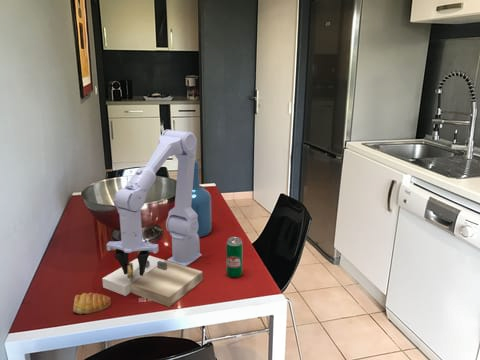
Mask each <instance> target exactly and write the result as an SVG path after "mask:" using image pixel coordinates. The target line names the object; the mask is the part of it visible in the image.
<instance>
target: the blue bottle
mask: <svg viewBox="0 0 480 360" xmlns="http://www.w3.org/2000/svg"><path fill="white" fill-rule="evenodd" d="M199 167H200V166H199V161H198V160H197V157H195V165H194V178H193V190H192V203H191V208H192V209H193V210H194V211H195V212H196V213H197V215H198V217H197V219H198V225H199V228H198V231H197V234H198V236H199V238H202V237H206V236H208V235H209V234H210V233H211V232H212V229H213V227H212V196H211V194H210V192H209V191H208V189H205V187H203V186H202V185H200V168H199Z"/></svg>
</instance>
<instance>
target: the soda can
mask: <svg viewBox="0 0 480 360" xmlns="http://www.w3.org/2000/svg"><path fill="white" fill-rule="evenodd" d="M243 244H244V243H243V241H242V238H241V237H239V236H238V237H237V236H230V237H228V238H227V241H226V243H225V246H226V247H225V248H226V250H225V252H226V253H225V254H226V255H225V257H226V260H225V261H226V264H225V266H226V272H225V273H226V275H227V276H228V277H230V278H234V279H236V278H240V277H241V276H242V275H243V252H244V251H243V248H244V247H243Z"/></svg>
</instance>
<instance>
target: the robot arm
mask: <svg viewBox="0 0 480 360" xmlns="http://www.w3.org/2000/svg"><path fill="white" fill-rule="evenodd" d="M197 143H198V139H197V136H196V135H195V134H194V133H193V132H191V131H181V130H172V129H165V130H163V132H162V133H161V135H160V136H159V137H158V145H157V147H156V149H155V150H154V152H153V154H152V155H151V157H150V158H149V160H148V161H147V163H146V165H145V166H141V167H139V168H138V169H136V170H135V173H134V174H133V176H132V177H131V178H130V180H129V181H128V183H126V185H125V186H124V187H122V188H120V189H119V190H117V191H116V193H115V195H114V199H113V200H112V202H113V205H114V207H116V209H117V213H118V214H119V224H120V225H119V227H120V239H121V240H119V241H116V240H115V241H108V242H107V244H106V250H107V251H115V253H114V258H115V259H116V261H118V263H119V264H120V268H121V267H122V269H123V272H124V274H127V268H126V264H127V263H130V261H129V254H131V253H133V252H139V253H138V254H137V255H136V259H138V262H139V272H140V275H141V276H142V275H143V274H144V273H145V266H146V262H147V259H148V257H149V256H150V254H151V253H153V254H157V253H158V252H159V244H157V243H152V242H147V241H144V240H143V228H142V226H143V225H142V214H141V213H142V212H141V211H142V210H141V209H142V208H143V207H144V205H145V203H146V197H147V195H148V194H147V193H148V192H149V190H150V189H151V187H152V186H153V184H154V183H155V181H156V180H157V174H156V173H158V171H159V170H160V169H161V167H163V165H164V163H166V162H167V160H168V159H169V158H170V156H174V157H175V158H176V159H177V171H176V183H175V185H176V186H175V187H176V188H175V199H174V207H173V208H171V209H170V210H168V216H167V218H166V221H165V228H166V231H167V232H169V235H170V236H171V252H172V256H171V257H169V258H168V259H166V261H169V262H172V263H176V264H179V265H182V266H186V267H189V265H191V263H193V262H195V261H196V260H198V259H199V258H200V257H202V253H201V252H200V251H201V250H200V247H201V246H200V237H199V236H198V234H197V231H198V228H199V225H198V219H197V217H198V215H197V213H196V212H195V211H194V210H193V209H192V208H191V203H192V190H193V178H194V165H195V158H197V145H198V144H197Z"/></svg>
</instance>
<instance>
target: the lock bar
mask: <svg viewBox="0 0 480 360" xmlns="http://www.w3.org/2000/svg"><path fill="white" fill-rule="evenodd" d="M149 266H150V263H149V261H148V260H147V262H146V266H145V268H146V267H149ZM126 268H127V282H131V281H132V280H133V279H134V278H135V277H136V276H138V275H139V274H140V272H139V267H138V268H137V269H136V270H135V271H133V263H130V262H129V263H127V264H126Z"/></svg>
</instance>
